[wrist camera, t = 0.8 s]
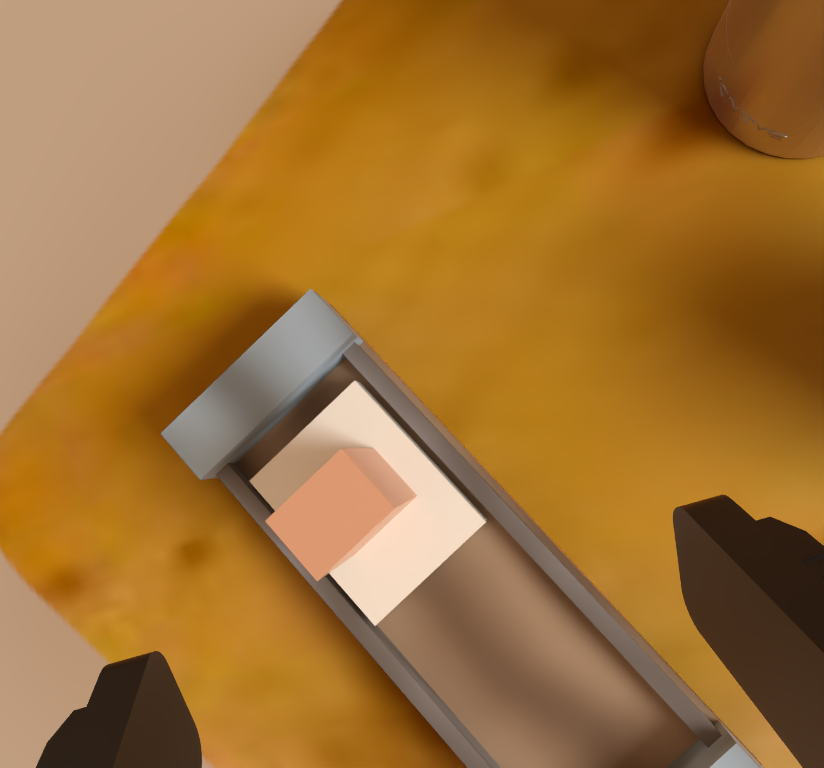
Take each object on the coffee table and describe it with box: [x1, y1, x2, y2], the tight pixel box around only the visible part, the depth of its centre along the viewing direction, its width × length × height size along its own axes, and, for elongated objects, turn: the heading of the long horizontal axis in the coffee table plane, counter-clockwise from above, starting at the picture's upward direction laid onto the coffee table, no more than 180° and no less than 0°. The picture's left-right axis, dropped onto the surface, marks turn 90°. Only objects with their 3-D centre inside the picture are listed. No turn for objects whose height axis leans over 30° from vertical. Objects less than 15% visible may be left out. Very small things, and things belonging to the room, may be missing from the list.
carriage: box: [250, 381, 487, 626], centre depth 31 cm, size 7×9×8 cm
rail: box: [160, 289, 764, 768], centre depth 34 cm, size 10×30×4 cm, turn 43°
